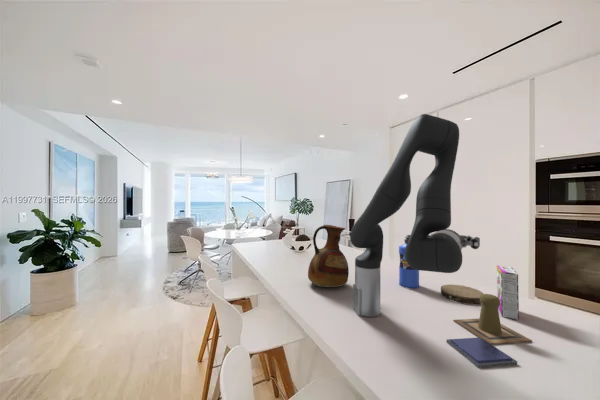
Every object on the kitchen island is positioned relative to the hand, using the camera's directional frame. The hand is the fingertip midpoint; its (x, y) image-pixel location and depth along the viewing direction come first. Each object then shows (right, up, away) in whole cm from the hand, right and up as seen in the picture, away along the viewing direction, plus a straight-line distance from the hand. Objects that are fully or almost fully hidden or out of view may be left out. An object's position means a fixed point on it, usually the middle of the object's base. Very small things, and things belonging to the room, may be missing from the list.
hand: (452, 237), depth 77 cm
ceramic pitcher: (-35, -30, +44) cm, 64 cm away
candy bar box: (+29, -31, +14) cm, 44 cm away
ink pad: (+1, -30, -11) cm, 32 cm away
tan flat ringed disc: (+22, -31, +29) cm, 48 cm away
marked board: (+12, -30, +1) cm, 33 cm away
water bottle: (+6, -31, +43) cm, 53 cm away
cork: (+12, -30, +1) cm, 32 cm away
